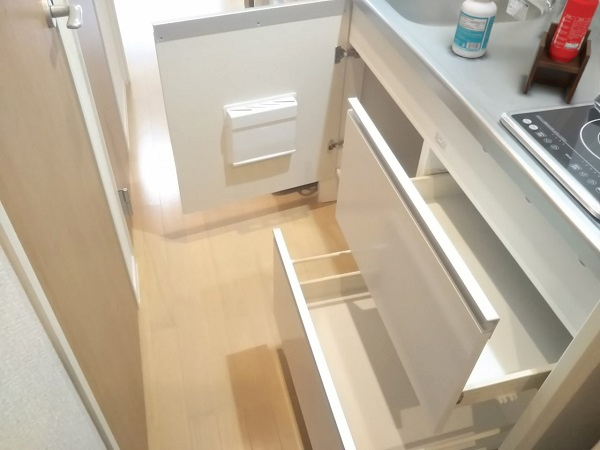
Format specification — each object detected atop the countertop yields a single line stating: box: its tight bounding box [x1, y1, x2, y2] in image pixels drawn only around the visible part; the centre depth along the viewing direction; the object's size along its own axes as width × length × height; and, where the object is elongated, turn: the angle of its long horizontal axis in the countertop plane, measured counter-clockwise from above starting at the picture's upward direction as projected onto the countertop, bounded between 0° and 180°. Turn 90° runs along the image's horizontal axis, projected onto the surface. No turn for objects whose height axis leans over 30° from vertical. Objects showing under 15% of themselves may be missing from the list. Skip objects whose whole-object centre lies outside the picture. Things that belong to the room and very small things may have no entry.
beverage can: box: [549, 0, 600, 63], centre depth 98 cm, size 5×5×12 cm
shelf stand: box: [522, 21, 592, 105], centre depth 103 cm, size 9×8×12 cm
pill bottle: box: [451, 0, 498, 59], centre depth 114 cm, size 8×7×14 cm
